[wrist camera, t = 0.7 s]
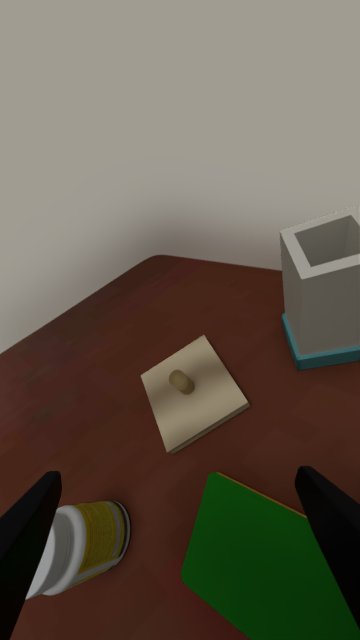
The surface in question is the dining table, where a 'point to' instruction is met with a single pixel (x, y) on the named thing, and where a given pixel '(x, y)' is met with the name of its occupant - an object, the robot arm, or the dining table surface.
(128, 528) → the supplement bottle
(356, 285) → the sleeve
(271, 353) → the dining table surface
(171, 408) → the pin plate
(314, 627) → the dish sponge
